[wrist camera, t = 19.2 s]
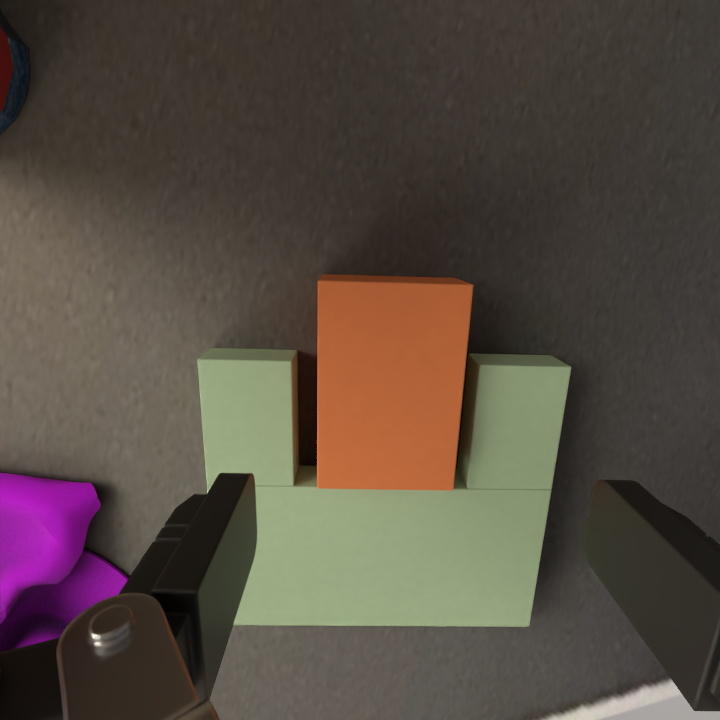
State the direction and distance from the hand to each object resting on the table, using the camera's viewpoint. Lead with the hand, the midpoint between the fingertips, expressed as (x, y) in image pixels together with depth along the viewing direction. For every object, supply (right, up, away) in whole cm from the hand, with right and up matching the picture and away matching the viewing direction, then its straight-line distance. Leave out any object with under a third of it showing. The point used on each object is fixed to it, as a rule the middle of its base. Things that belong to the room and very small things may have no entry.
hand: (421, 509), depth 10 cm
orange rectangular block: (0, +3, +10) cm, 11 cm away
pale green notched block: (-1, -3, +12) cm, 12 cm away
